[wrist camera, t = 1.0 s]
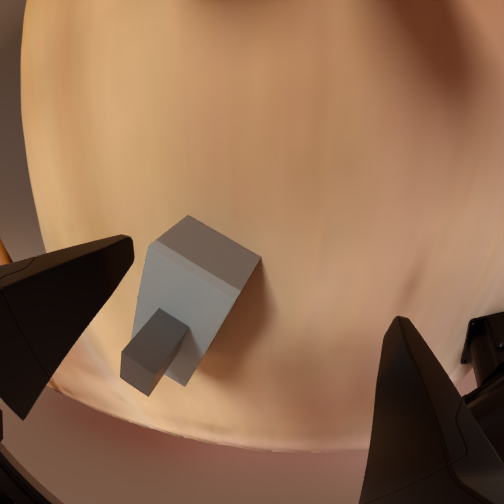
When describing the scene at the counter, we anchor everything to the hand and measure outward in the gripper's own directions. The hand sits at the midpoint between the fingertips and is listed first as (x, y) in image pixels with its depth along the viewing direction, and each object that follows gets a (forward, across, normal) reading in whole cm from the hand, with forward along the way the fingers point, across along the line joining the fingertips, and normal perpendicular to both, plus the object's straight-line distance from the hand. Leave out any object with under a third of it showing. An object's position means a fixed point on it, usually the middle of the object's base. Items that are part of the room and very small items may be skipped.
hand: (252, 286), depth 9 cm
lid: (+9, +9, +14) cm, 19 cm away
